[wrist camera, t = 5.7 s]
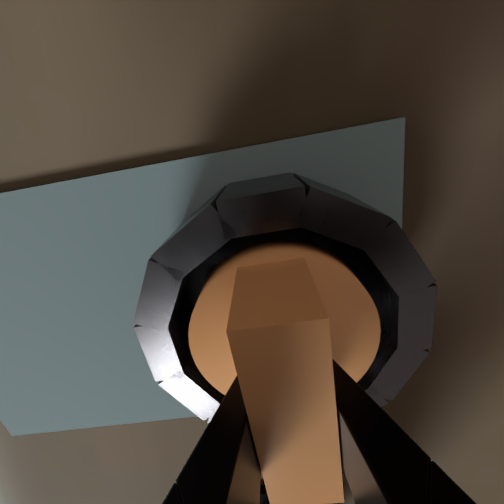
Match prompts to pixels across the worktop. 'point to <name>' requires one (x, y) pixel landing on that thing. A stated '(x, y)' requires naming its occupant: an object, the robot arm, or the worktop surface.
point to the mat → (135, 268)
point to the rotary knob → (286, 356)
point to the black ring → (285, 227)
